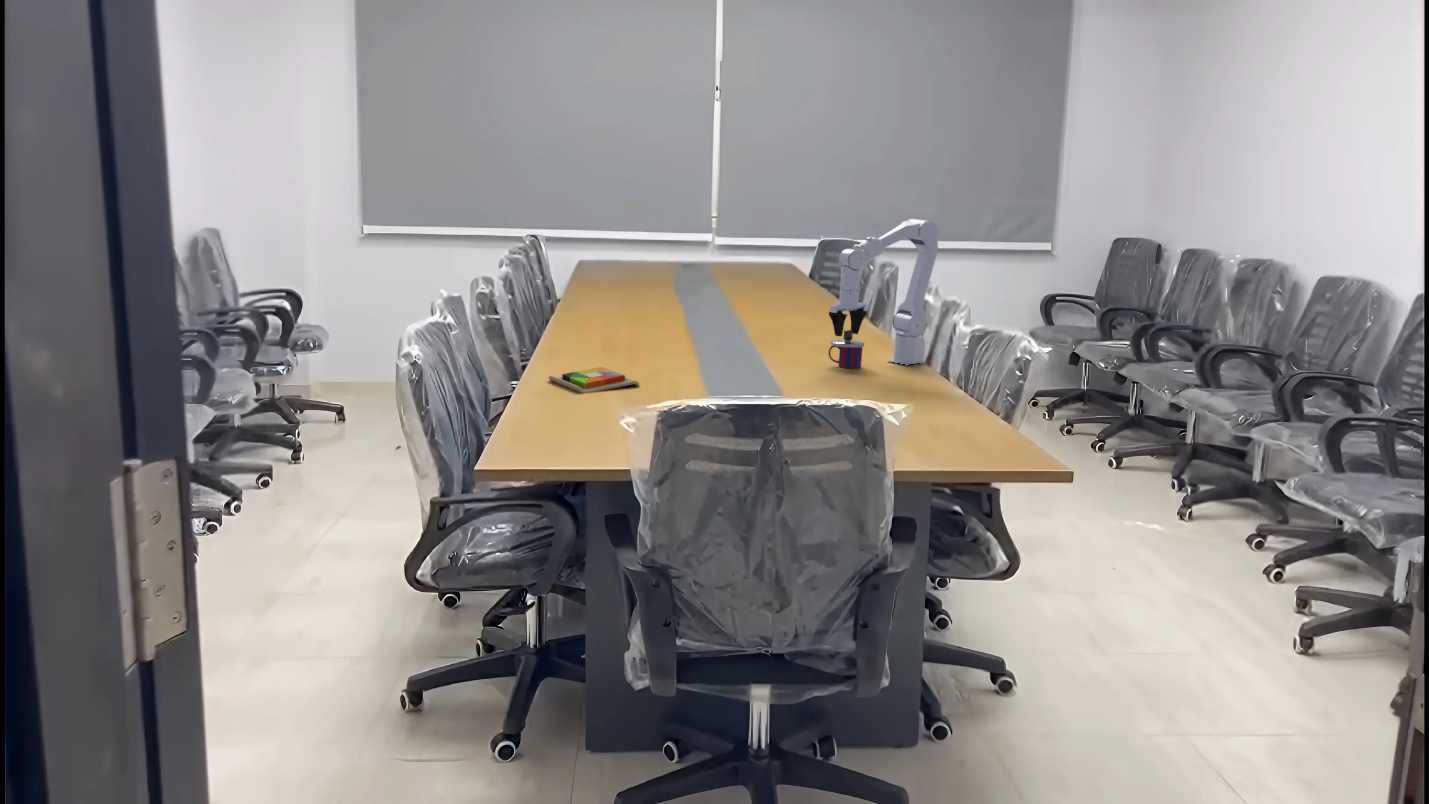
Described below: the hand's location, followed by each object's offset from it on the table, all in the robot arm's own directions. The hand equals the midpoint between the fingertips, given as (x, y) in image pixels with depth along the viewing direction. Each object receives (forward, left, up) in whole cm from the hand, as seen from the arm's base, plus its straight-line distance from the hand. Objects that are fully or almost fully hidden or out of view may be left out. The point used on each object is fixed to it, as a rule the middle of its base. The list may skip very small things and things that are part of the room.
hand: (846, 334), depth 326 cm
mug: (0, 0, -10) cm, 10 cm away
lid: (0, +1, -3) cm, 3 cm away
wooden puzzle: (+78, -22, -10) cm, 82 cm away
